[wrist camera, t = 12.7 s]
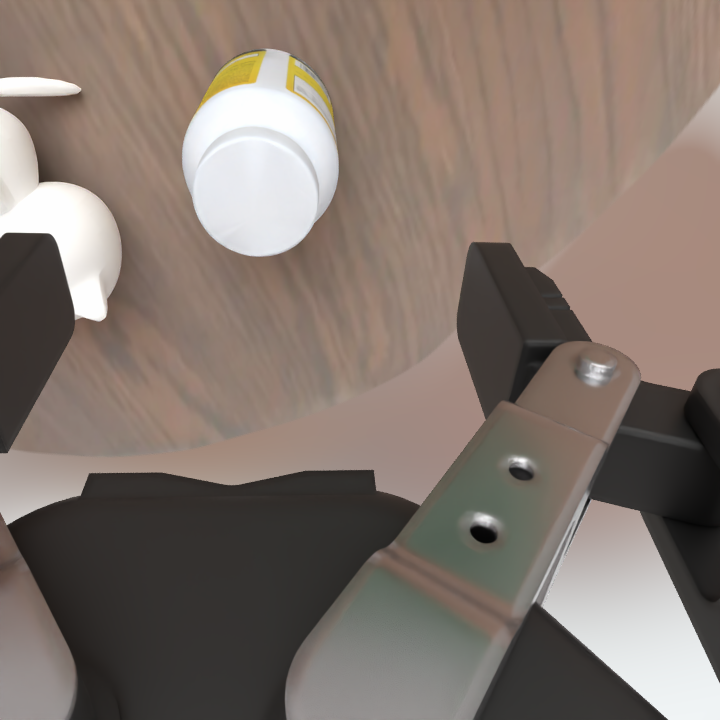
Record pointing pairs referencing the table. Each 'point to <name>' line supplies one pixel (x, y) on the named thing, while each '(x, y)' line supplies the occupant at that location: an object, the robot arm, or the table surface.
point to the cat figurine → (57, 207)
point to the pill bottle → (262, 153)
